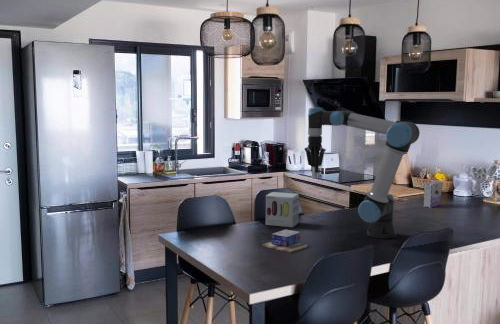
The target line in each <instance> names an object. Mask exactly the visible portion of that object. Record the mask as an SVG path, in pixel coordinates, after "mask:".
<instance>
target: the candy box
mask: <svg viewBox="0 0 500 324" xmlns="http://www.w3.org/2000/svg"><path fill="white" fill-rule="evenodd" d="M442 184H443V183H442V182H441V181H440V182H439V181H431V182H427V183H424V184H423V204H422V206H423V208H428V209H433V208H436V207H439V206H441V205H442V187H443V185H442Z"/></svg>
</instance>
